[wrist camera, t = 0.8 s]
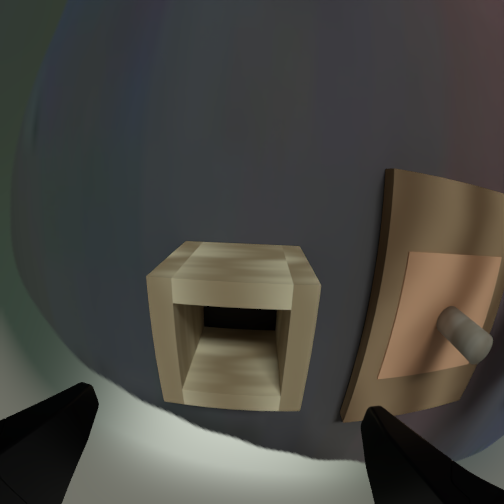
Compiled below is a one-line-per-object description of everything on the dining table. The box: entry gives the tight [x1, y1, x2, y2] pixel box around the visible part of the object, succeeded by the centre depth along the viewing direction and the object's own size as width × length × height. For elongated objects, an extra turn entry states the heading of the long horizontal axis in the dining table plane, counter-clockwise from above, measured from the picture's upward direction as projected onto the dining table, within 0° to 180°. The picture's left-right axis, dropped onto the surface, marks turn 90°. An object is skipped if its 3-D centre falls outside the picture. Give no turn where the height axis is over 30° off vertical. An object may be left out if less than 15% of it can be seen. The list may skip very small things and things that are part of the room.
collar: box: [146, 241, 321, 411], centre depth 14 cm, size 6×6×6 cm
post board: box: [340, 169, 504, 423], centre depth 14 cm, size 12×18×6 cm, turn 178°
